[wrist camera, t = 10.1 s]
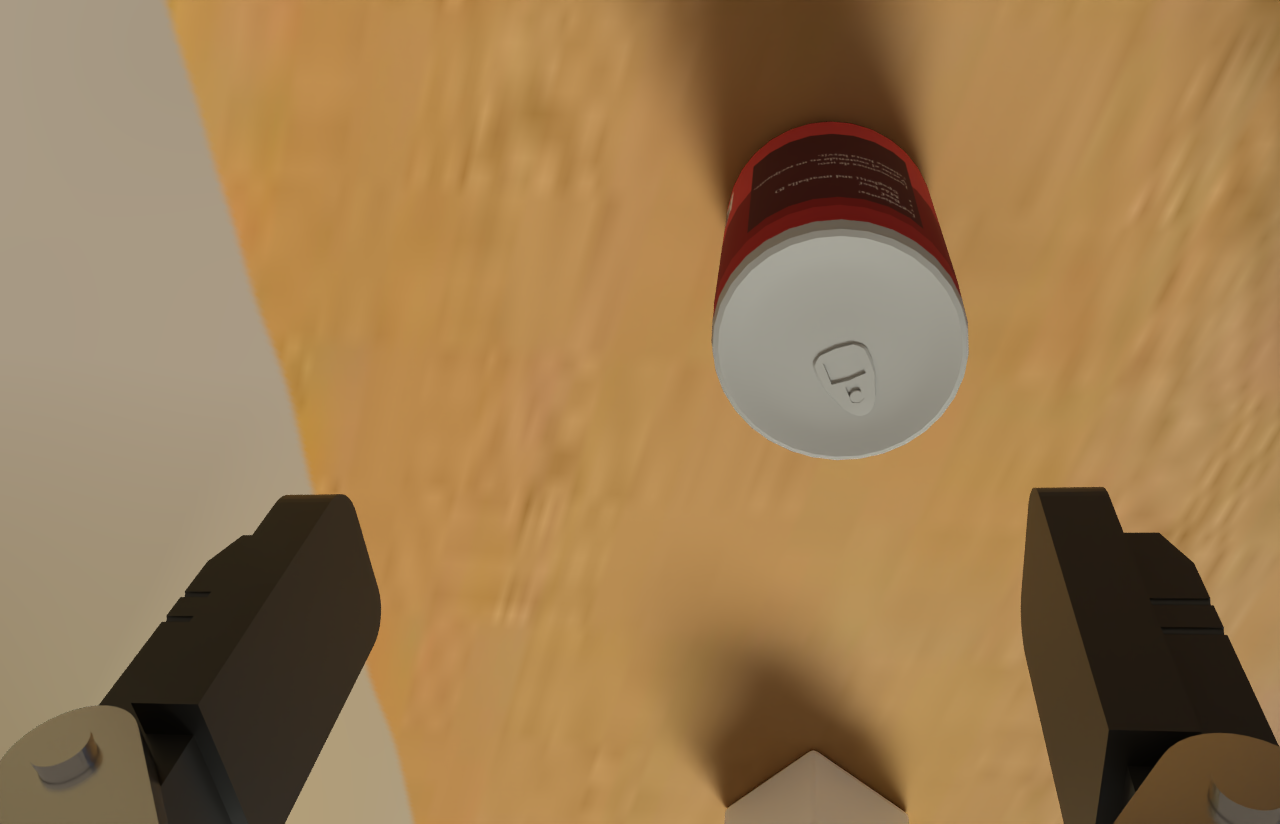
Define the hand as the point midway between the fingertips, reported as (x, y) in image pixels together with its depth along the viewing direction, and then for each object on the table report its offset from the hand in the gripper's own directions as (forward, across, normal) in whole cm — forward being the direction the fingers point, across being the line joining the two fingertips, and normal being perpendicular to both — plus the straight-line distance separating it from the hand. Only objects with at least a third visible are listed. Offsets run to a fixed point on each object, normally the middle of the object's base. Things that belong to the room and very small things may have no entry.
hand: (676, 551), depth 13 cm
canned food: (+30, -2, +7) cm, 31 cm away
